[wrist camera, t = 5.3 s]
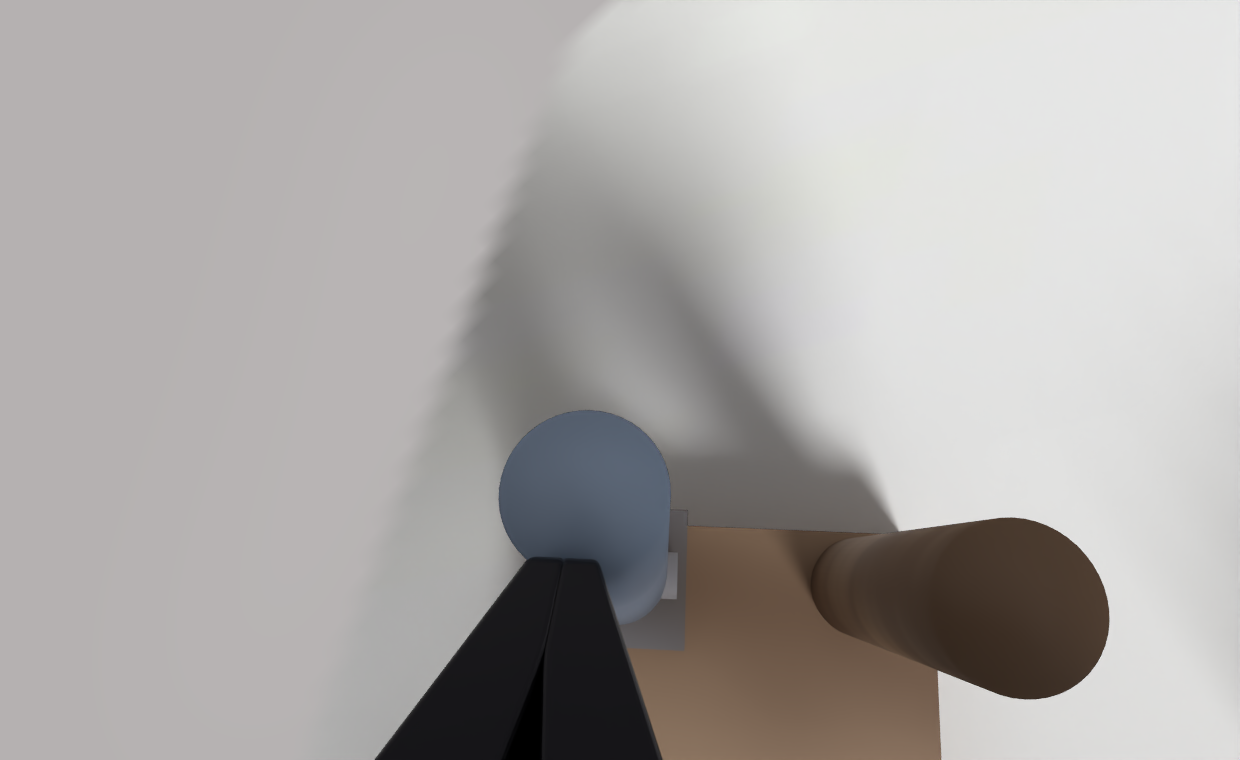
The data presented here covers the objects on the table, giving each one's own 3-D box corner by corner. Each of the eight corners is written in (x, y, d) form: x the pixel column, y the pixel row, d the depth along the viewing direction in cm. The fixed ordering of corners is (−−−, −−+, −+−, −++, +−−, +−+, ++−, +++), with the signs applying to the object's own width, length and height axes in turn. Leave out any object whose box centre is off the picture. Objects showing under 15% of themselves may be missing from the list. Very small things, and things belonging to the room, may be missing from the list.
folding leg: (675, 630, 16) (686, 585, 9) (555, 623, 16) (472, 575, 9) (677, 529, 17) (690, 413, 10) (563, 524, 17) (491, 407, 10)
